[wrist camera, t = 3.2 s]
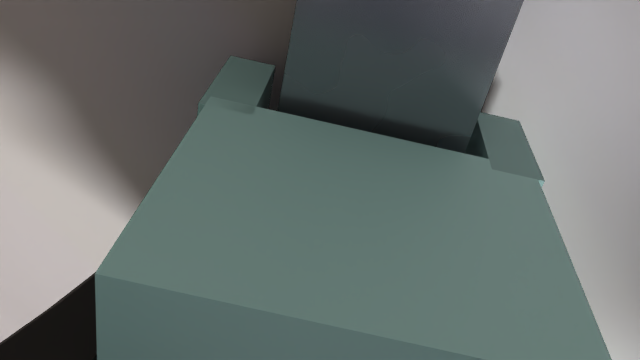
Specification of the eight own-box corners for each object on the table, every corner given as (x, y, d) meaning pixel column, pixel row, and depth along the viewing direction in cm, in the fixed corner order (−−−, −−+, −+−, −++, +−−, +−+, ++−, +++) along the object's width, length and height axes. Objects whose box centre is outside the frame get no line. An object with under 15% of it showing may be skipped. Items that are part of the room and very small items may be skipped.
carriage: (519, 121, 10) (634, 392, 5) (421, 346, 13) (438, 642, 9) (230, 55, 10) (83, 270, 5) (202, 299, 13) (94, 570, 8)
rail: (563, -213, 8) (610, -222, 6) (312, 497, 18) (304, 565, 17) (355, -262, 8) (346, -284, 6) (219, 477, 18) (202, 544, 17)
